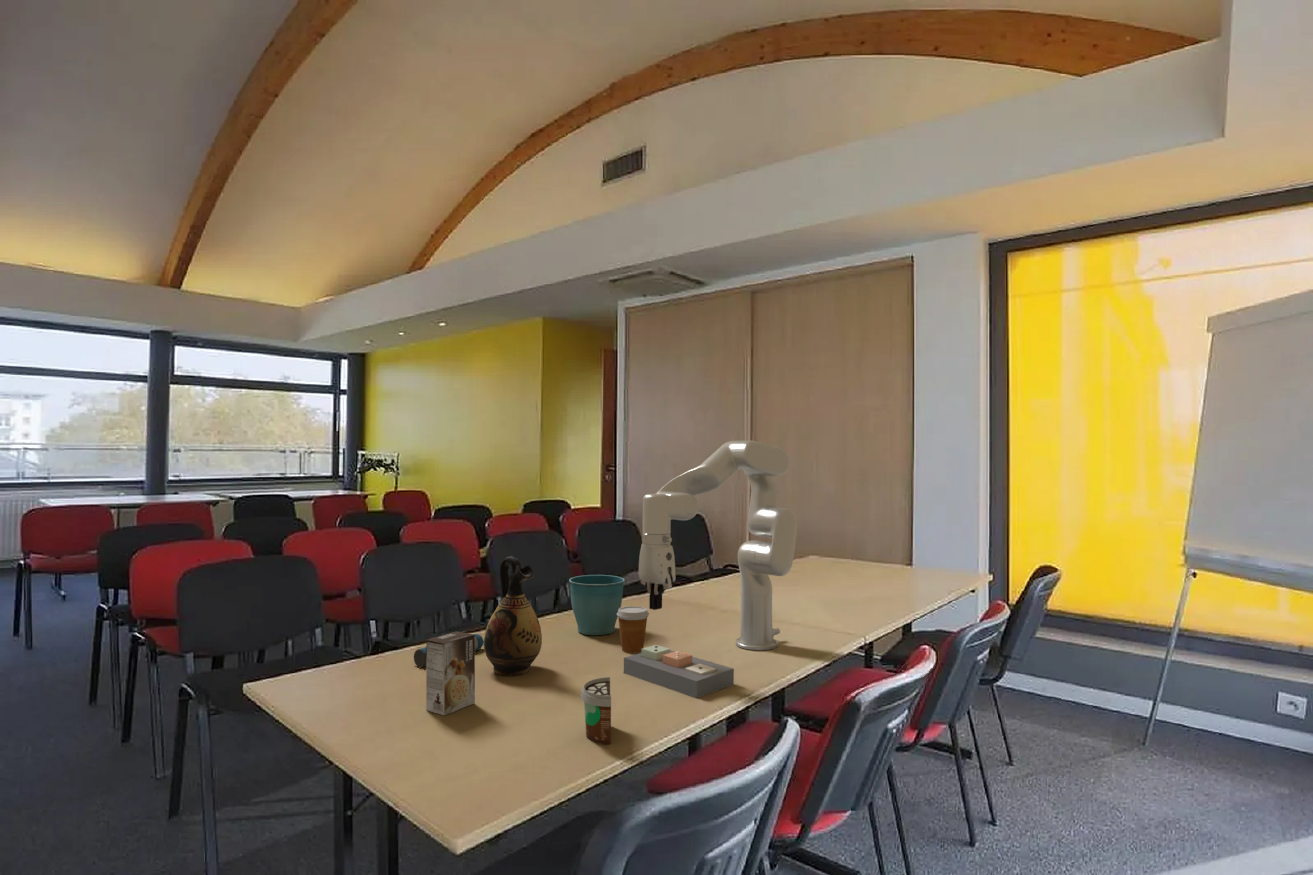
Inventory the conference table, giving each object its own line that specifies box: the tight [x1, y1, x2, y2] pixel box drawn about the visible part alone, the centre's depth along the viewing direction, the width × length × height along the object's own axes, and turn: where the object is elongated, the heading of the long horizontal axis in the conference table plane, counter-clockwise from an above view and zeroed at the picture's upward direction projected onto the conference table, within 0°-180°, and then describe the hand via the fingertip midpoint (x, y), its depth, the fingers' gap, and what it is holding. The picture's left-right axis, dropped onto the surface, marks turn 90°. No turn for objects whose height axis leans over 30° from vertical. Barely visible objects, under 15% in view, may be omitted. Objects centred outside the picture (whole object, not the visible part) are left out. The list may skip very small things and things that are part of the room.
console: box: [623, 649, 735, 699], centre depth 178 cm, size 14×26×4 cm, turn 44°
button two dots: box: [641, 644, 671, 661], centre depth 184 cm, size 5×5×4 cm
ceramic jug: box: [483, 555, 543, 677], centre depth 185 cm, size 17×15×30 cm
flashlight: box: [413, 633, 484, 668], centre depth 196 cm, size 5×22×5 cm, turn 146°
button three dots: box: [663, 650, 693, 668], centre depth 178 cm, size 5×5×4 cm
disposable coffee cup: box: [617, 605, 650, 654], centre depth 204 cm, size 10×10×12 cm
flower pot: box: [568, 574, 625, 636], centre depth 225 cm, size 18×18×17 cm
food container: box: [580, 676, 612, 745], centre depth 142 cm, size 12×6×10 cm, turn 5°
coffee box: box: [425, 631, 476, 716], centre depth 157 cm, size 9×6×16 cm
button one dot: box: [685, 664, 716, 675], centre depth 172 cm, size 5×5×4 cm
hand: (655, 608), depth 184 cm, fingers closed
